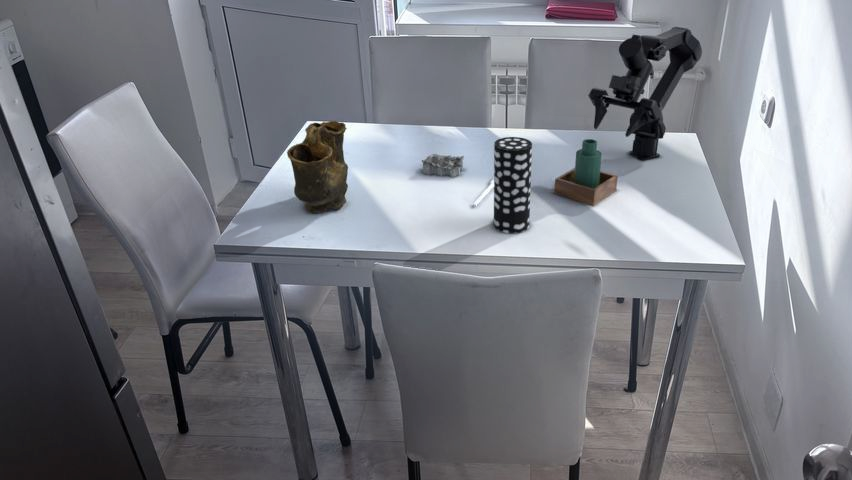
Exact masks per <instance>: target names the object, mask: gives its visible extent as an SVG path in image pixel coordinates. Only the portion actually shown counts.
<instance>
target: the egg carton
mask: <svg viewBox="0 0 852 480" xmlns="http://www.w3.org/2000/svg"><path fill="white" fill-rule="evenodd" d="M464 159H465V158H464V155H461V156H455V155H453V156H452V155H444V154H443V155H442V154H441V155H440V154H438V153H431V154H430V155H428V156H426V158H424V159H422V160H421V163H422V173H424V174H426V175H428V176H429V175H432V174H433V175H434V174H435V175H438V176H441V177H442V176H446V175H447V176H449V177H452V178H454V177H457V176H460V175H461V171H463V170H464Z"/></svg>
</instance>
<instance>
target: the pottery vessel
mask: <svg viewBox="0 0 852 480" xmlns="http://www.w3.org/2000/svg"><path fill="white" fill-rule="evenodd" d="M347 129H348V128H347V127H346V123H344V122H340V121H337V120H330V121H329V120H328V121H322V122H320V123H319V122H313V123H309V125H307V127H306V128H305V129H304V132H305V133H306V135H305V137H304V139H303V141H302V142H300V143H296V144H293V146H290V147H289V148H288V149H287V150H286V151H287V152H286V155H287V158H288V159H289V161H290V163H291V167H292V172H293V177H294V182H295V183H294V187H293V192H294V196H295V197H296V198H297V199H298V200H299V201H301V202H303V203H304V204H305V205H304V208H305V209H306V211H308V212H309V213H313V214H315V213H316V212H318V213H325V212H326V210H327V209H329V208H330V209H332V210H337V211H338V210H340V209H341V208H343V207H344V205H345V204H346V203H347V198H346V193H347V191H348V188H349V185H348V183H347V181H348V173H349V171H348V170H349V166H348V164H347V163H346V161H345V155H344V138H345V132H346V130H347Z"/></svg>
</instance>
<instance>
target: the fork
mask: <svg viewBox="0 0 852 480" xmlns="http://www.w3.org/2000/svg"><path fill="white" fill-rule="evenodd" d="M492 189H494V177H493V178H492V179H491V181H490V182H489V185H488V186H487V187H486V189H485V190H484V191H483V192H482V193H481V194H480V195H479V196H478V198H477V199H476V200H475V201H474V202H473V204H472V206H473V207H477V205H478V204H479V203H480V202H481V201H482V200H483V199H484V198H485V197H486V196H487V195H488V194H489V193H490V191H492Z"/></svg>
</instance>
